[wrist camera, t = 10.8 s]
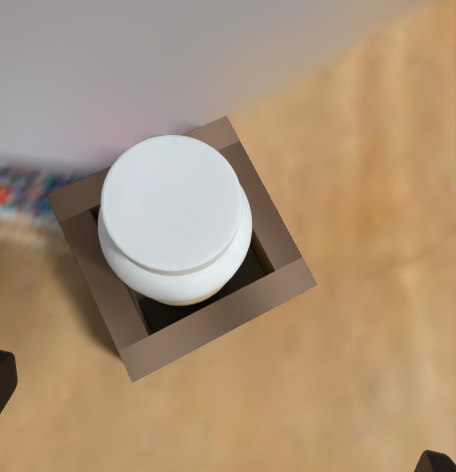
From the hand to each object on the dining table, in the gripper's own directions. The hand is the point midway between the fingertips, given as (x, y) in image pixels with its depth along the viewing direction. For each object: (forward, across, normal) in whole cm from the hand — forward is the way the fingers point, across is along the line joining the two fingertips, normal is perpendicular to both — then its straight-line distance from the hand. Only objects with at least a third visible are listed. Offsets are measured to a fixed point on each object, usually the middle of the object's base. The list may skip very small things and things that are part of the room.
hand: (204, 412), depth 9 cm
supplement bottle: (+12, +4, +3) cm, 13 cm away
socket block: (+12, +4, +3) cm, 13 cm away
